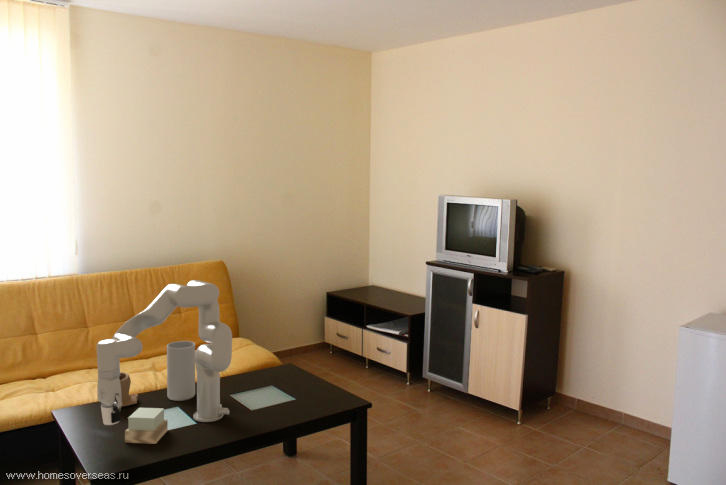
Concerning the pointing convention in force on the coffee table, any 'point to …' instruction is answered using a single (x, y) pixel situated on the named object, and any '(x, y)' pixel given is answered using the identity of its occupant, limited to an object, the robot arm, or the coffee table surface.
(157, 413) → the sage top block
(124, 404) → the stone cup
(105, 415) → the shot glass
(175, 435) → the coffee table surface
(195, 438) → the coffee table surface
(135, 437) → the oak base block
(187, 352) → the cylinder vase
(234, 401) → the coffee table surface
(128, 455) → the coffee table surface
